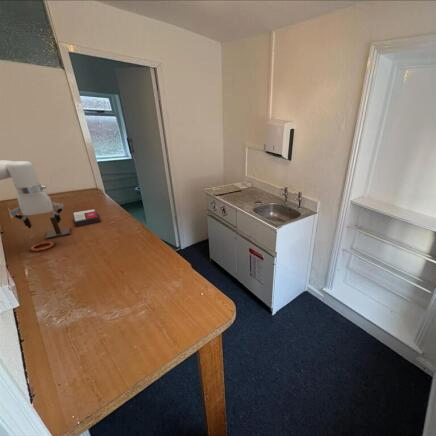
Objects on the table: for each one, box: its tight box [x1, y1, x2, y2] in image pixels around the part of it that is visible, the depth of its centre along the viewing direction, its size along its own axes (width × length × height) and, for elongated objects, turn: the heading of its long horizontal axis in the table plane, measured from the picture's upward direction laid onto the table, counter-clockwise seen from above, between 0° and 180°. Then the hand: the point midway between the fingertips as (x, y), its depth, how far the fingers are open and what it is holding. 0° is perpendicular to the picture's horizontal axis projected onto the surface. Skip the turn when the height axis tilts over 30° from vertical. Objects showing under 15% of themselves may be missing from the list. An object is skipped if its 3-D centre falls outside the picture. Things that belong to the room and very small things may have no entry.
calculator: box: [72, 208, 100, 227], centre depth 141 cm, size 11×4×15 cm
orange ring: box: [30, 241, 55, 252], centre depth 112 cm, size 8×8×1 cm
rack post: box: [45, 215, 71, 240], centre depth 123 cm, size 9×9×10 cm
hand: (44, 224), depth 110 cm, fingers open, 9 cm apart
